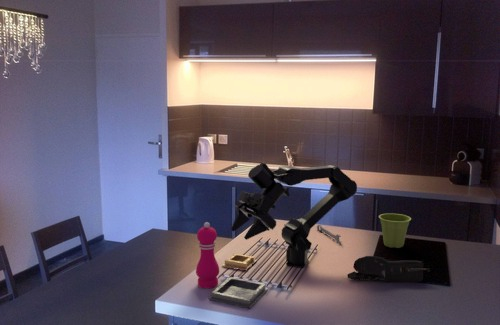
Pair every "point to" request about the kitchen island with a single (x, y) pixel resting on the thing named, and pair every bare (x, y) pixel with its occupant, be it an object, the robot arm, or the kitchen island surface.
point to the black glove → (387, 270)
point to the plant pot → (394, 229)
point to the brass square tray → (239, 262)
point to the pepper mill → (207, 258)
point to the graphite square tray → (239, 292)
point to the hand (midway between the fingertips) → (238, 234)
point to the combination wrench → (329, 234)
